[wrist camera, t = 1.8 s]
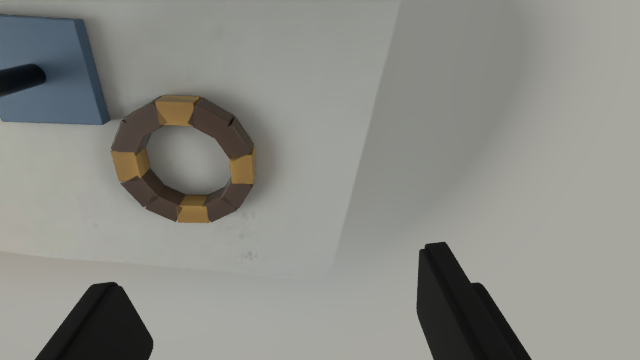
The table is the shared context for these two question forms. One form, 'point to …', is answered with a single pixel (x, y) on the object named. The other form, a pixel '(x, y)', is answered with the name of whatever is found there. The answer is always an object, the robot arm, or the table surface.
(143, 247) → the table surface
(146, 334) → the robot arm
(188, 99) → the ring
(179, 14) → the table surface
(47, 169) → the table surface
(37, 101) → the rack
